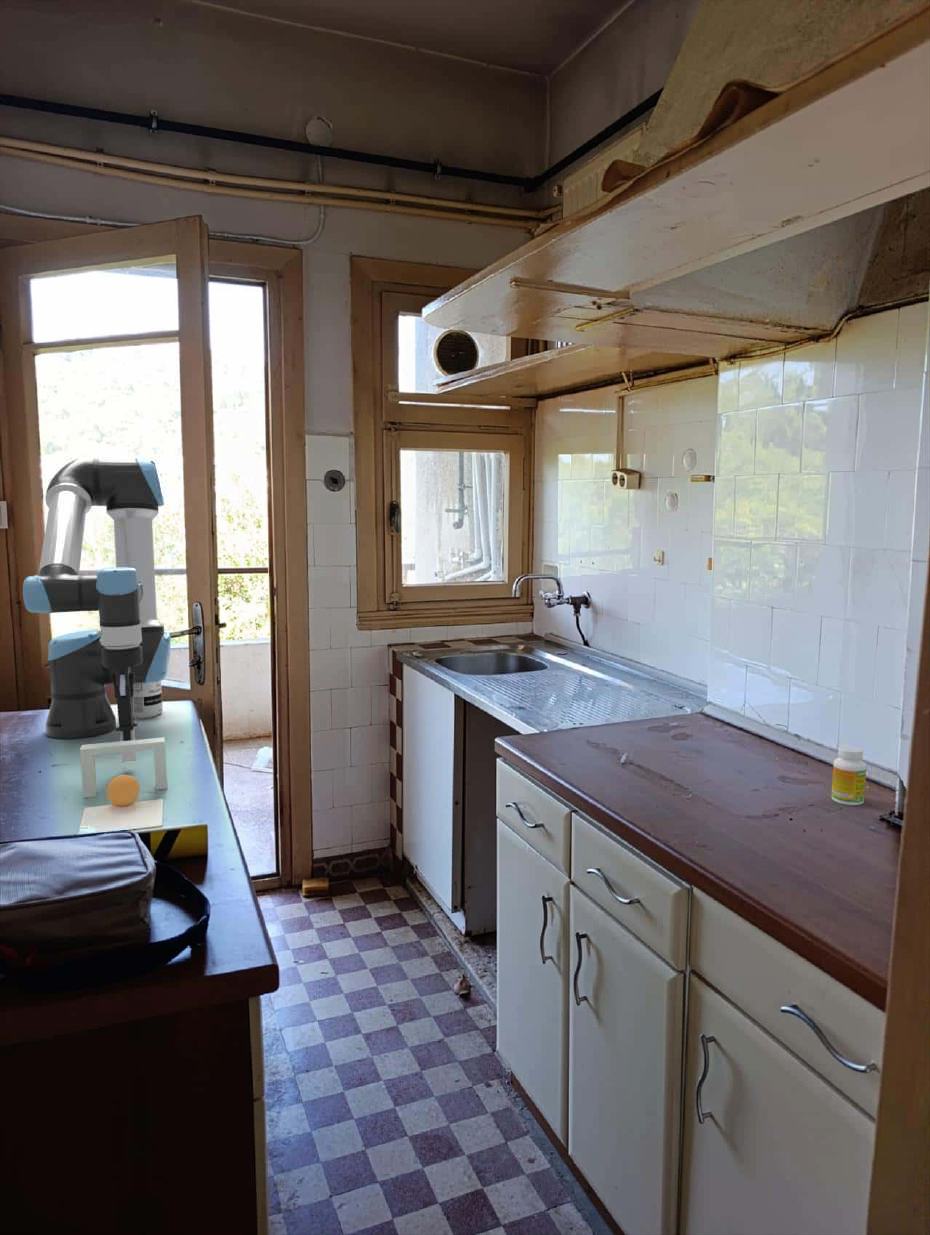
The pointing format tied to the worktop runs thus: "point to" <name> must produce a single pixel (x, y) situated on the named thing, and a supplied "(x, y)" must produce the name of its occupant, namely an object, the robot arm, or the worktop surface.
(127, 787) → the ball
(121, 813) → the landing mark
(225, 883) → the worktop surface
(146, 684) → the supplement can
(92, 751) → the bridge
